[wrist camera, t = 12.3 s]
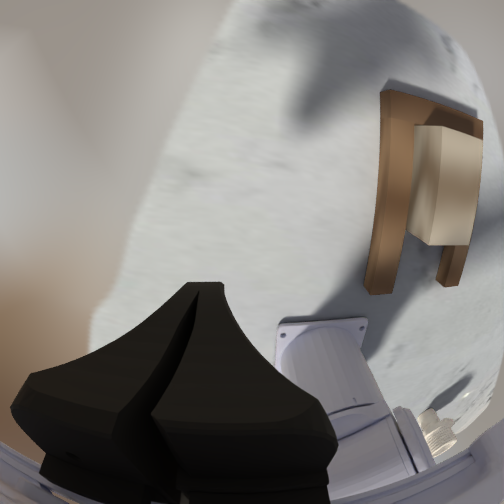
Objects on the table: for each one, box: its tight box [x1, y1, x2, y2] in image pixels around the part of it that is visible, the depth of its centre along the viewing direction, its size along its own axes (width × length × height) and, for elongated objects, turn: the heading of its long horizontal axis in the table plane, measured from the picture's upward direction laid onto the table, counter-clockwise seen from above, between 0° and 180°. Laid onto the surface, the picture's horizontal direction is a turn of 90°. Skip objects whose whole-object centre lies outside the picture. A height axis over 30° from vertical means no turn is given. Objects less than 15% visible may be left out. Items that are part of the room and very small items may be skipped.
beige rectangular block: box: [405, 126, 483, 245], centre depth 16 cm, size 8×4×4 cm, turn 0°
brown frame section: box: [364, 90, 483, 295], centre depth 17 cm, size 15×10×2 cm, turn 0°
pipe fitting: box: [417, 408, 457, 458], centre depth 28 cm, size 6×7×8 cm
